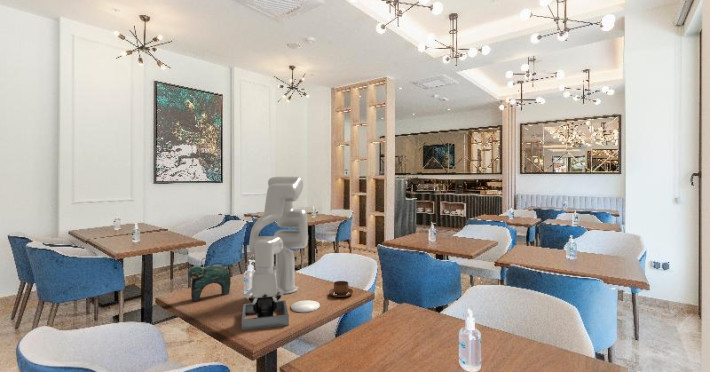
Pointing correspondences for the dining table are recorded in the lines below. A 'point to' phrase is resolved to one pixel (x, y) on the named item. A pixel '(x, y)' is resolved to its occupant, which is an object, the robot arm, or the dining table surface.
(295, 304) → the plate
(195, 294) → the ceramic cat
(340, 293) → the cup and saucer
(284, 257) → the robot arm
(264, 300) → the supplement bottle
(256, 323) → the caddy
